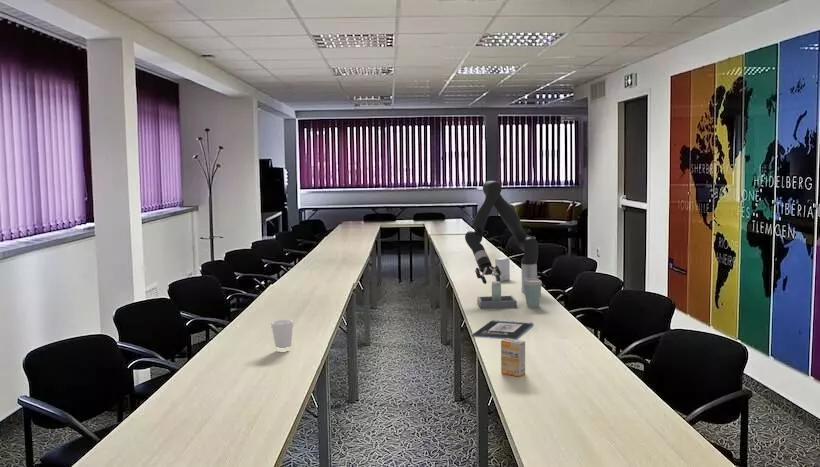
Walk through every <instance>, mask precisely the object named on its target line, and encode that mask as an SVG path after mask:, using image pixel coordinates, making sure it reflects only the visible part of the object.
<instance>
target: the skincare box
mask: <svg viewBox="0 0 820 467" xmlns="http://www.w3.org/2000/svg"><path fill="white" fill-rule="evenodd" d="M494 260H495V261H494V262H495V266H494V267H496V266H498V268H499V270H500V272H501V275H500V276H499V277H500V279H501V280H500V282H504V281H508V280H510V279H511V278H510V277H511V275H510V258H509V257H505V256H503V257H499V258H494ZM495 281H497V279H496V278H495Z"/></svg>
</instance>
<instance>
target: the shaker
mask: <svg viewBox="0 0 820 467" xmlns="http://www.w3.org/2000/svg"><path fill="white" fill-rule="evenodd" d="M501 283H502V281H497V280H495V281H492V282H491V296H492V301H501V296H502V284H501Z"/></svg>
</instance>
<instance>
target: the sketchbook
mask: <svg viewBox="0 0 820 467" xmlns="http://www.w3.org/2000/svg"><path fill="white" fill-rule="evenodd" d="M533 327H534V323H533V322H526V321H525V322H524V321H514V320H510V321H509V320H499V319H498V320H497V319H495V320H494V319H492V320H490V321H489V322H488V323H486V324H485V325H483V326H482V327H481V328H479V329H478V330H476V331H475V332H473V333H472V334H471V337H476V338H487V337H489V338H490V339H500V338H501V340H503V339H506V338H509V339H514V340H519V339H520V337H522V335H524V334H525V333H527V331H529V330H530V329H531V328H533ZM489 338H488V339H489Z"/></svg>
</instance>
